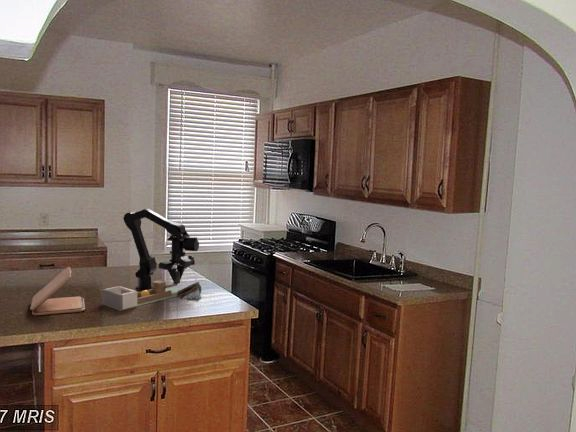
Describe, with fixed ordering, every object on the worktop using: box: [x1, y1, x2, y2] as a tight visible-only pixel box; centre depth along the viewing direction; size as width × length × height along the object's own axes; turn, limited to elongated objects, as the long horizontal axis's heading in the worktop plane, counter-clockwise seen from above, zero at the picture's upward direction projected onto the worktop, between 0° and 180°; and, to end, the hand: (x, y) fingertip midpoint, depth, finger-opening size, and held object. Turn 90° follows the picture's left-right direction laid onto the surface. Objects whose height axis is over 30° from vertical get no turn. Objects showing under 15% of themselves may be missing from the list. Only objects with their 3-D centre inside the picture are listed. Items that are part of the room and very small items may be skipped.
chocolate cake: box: [177, 281, 202, 300], centre depth 237 cm, size 10×7×12 cm
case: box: [29, 266, 86, 316], centre depth 212 cm, size 20×21×16 cm
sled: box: [151, 270, 181, 294], centre depth 240 cm, size 5×15×10 cm, turn 144°
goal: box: [101, 285, 138, 311], centre depth 219 cm, size 13×9×6 cm
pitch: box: [102, 286, 181, 312], centre depth 232 cm, size 13×40×3 cm, turn 144°
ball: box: [140, 289, 150, 297], centre depth 230 cm, size 4×4×4 cm
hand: (176, 280), depth 245 cm, fingers closed on sled, 3 cm apart
